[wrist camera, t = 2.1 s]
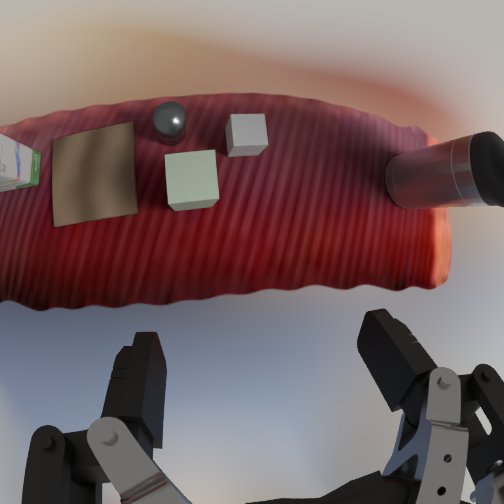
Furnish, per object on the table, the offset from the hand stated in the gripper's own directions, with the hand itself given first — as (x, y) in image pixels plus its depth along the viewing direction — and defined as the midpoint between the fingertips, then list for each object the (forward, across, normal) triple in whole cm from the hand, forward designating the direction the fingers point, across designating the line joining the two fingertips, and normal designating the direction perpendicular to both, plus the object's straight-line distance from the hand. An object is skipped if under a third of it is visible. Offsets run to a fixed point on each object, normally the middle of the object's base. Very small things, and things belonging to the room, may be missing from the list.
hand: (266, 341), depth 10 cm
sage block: (+27, +4, +1) cm, 27 cm away
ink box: (+27, +31, -5) cm, 41 cm away
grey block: (+30, -2, -5) cm, 30 cm away
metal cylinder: (+30, +7, -7) cm, 31 cm away
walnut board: (+27, +18, -3) cm, 32 cm away
